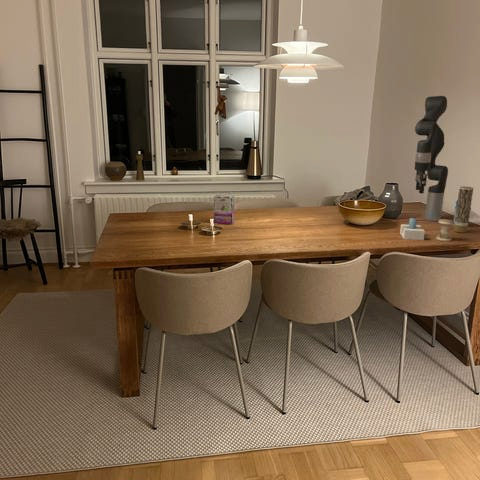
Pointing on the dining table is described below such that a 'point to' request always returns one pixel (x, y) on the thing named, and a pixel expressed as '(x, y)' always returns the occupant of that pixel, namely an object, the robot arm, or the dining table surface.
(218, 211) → the candy bar box
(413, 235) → the notched board
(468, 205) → the bark textured pillar
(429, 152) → the robot arm
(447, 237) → the bobbin
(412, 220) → the tab peg
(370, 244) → the dining table surface
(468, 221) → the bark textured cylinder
